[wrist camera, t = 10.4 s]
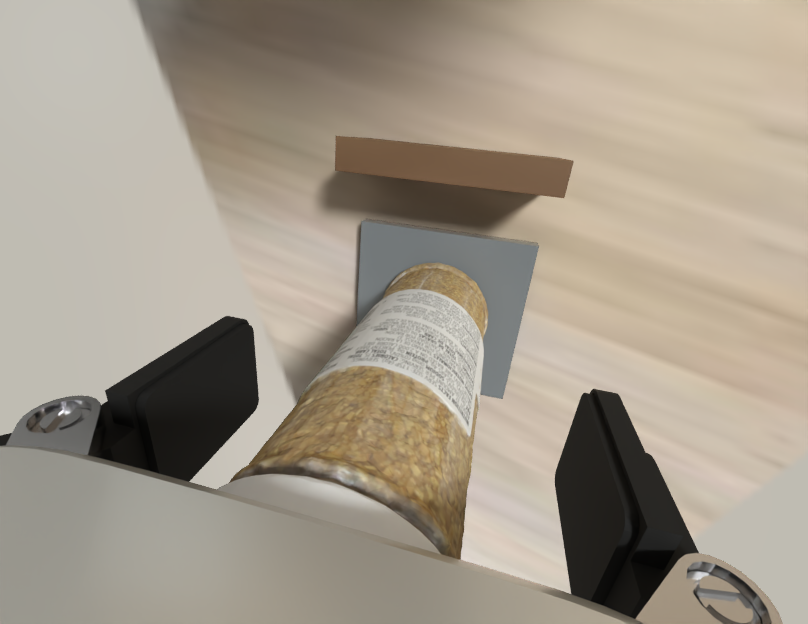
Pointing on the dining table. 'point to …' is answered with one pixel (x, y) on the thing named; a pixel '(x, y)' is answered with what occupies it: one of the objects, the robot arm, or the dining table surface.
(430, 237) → the slate coaster
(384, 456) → the sprinkles bottle
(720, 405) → the dining table surface
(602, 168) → the dining table surface
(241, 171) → the dining table surface
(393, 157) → the walnut rack
